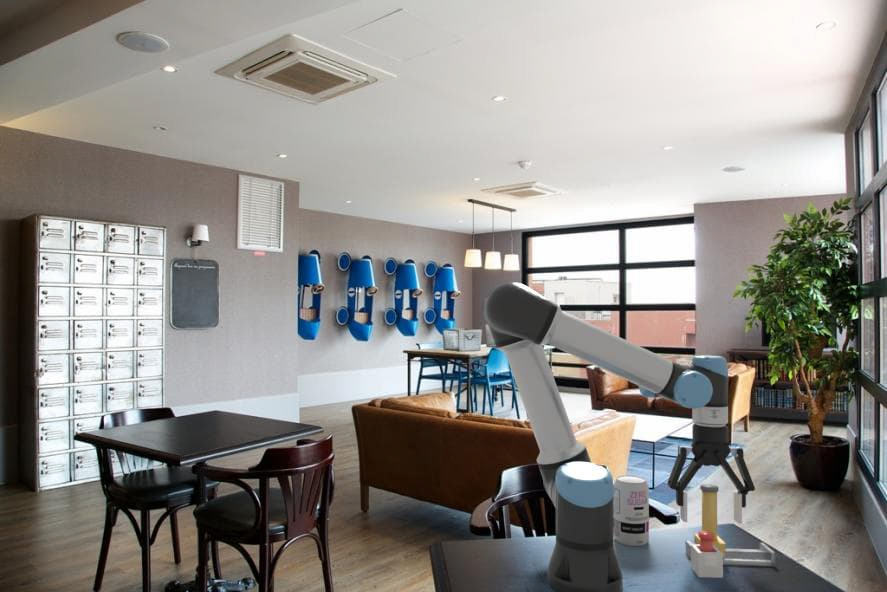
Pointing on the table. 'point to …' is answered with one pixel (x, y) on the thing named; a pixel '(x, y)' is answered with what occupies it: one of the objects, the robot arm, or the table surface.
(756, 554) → the rail
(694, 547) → the white button housing
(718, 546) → the sliding lever handle
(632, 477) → the supplement can
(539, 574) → the table surface
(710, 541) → the button
